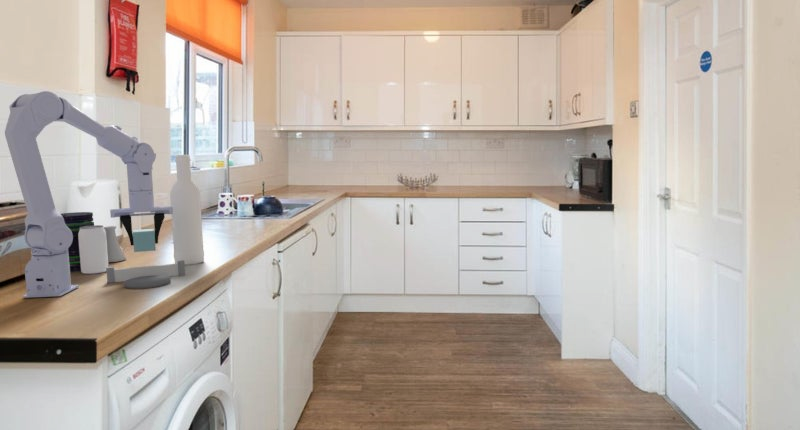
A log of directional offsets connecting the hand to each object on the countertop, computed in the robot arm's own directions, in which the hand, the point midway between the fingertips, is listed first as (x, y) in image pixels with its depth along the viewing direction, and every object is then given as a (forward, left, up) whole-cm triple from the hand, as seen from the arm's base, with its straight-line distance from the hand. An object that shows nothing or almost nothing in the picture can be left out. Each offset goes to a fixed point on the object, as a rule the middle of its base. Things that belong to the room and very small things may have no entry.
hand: (144, 244), depth 154 cm
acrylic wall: (-7, -2, -8) cm, 10 cm away
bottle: (+14, -7, -8) cm, 18 cm away
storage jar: (+11, +22, -8) cm, 26 cm away
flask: (+22, +16, -8) cm, 29 cm away
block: (0, 0, -2) cm, 2 cm away
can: (+5, +15, -8) cm, 18 cm away
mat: (-13, -4, -8) cm, 16 cm away
